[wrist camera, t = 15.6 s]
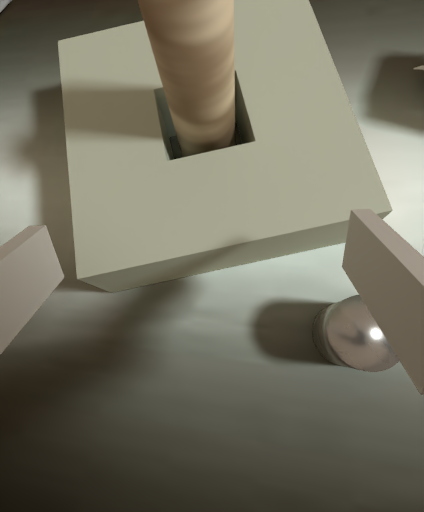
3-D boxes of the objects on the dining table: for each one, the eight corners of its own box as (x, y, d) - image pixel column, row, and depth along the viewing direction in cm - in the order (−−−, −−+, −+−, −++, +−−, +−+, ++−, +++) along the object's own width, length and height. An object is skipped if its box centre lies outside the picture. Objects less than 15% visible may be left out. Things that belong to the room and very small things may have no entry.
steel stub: (363, 298, 21) (391, 287, 17) (384, 359, 20) (419, 363, 16) (305, 310, 21) (320, 302, 17) (322, 371, 20) (342, 378, 16)
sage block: (290, 47, 27) (301, -17, 22) (358, 239, 22) (392, 210, 17) (89, 93, 27) (57, 41, 23) (111, 292, 22) (77, 279, 18)
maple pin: (229, 133, 25) (220, -107, 12) (240, 175, 24) (244, -36, 11) (181, 143, 25) (118, -83, 12) (190, 187, 24) (131, -9, 11)
